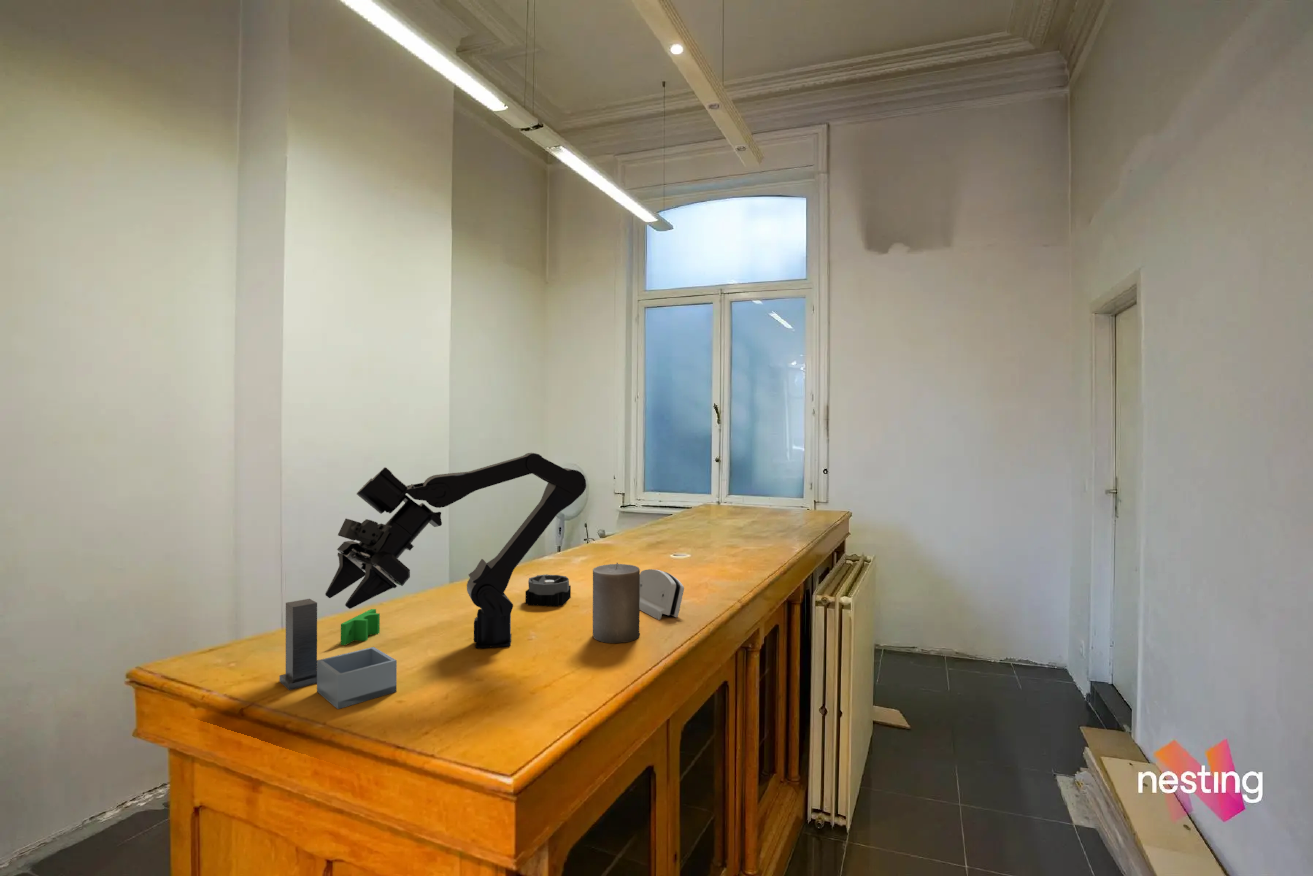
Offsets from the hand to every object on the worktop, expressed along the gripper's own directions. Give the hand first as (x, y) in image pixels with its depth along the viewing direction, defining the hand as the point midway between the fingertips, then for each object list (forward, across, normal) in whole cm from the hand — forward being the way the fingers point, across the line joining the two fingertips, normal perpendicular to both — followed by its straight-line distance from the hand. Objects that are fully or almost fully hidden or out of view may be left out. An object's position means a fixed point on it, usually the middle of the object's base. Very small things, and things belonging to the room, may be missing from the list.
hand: (336, 601), depth 107 cm
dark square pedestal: (+12, 0, +5) cm, 13 cm away
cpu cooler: (-29, -11, +46) cm, 55 cm away
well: (+9, +11, +8) cm, 16 cm away
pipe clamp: (+1, -16, +16) cm, 23 cm away
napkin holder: (-39, +12, +56) cm, 69 cm away
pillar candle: (-25, +20, +42) cm, 52 cm away
